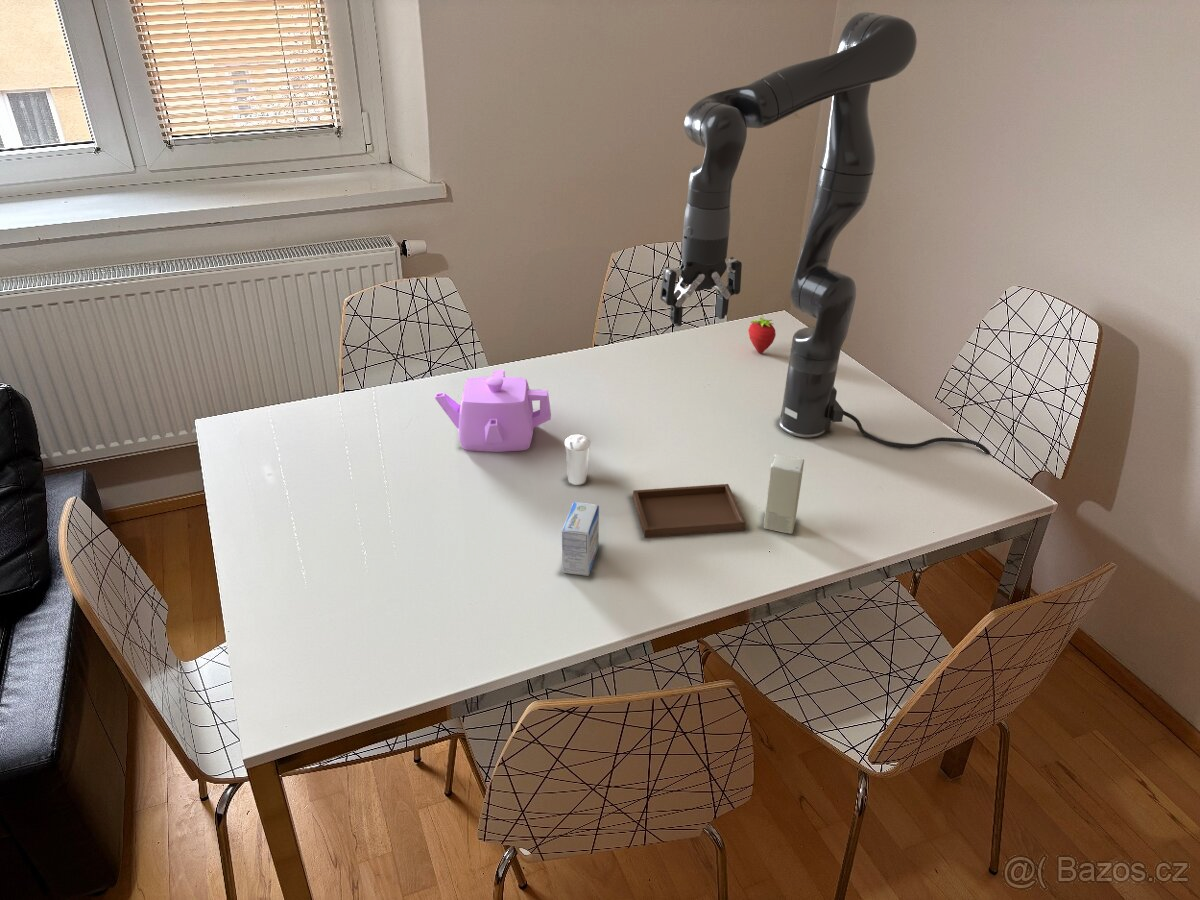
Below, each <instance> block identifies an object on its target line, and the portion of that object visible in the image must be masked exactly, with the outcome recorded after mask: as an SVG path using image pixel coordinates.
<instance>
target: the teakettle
mask: <svg viewBox="0 0 1200 900" xmlns="http://www.w3.org/2000/svg"><path fill="white" fill-rule="evenodd" d="M434 399H435V401H436V403H438V405H439V406H440V407H441V409H442V410H443V411H444V413H445V414H446V415H447V416H448V417H447V418H449V419H450V421H451V422H452V424H453V425H454V426H455V428H456V429H458V440H459V443H460V446H461V448H462V449H463V450H465V451H470V452H471V451H472V452H487V453H492V452H493V453H494V452H495V453H503V452H505V453H506V452H519V451H526V450H529V449H530V446H531V444H532V440H533V435H534V434H533V433H534V429H535V428H536V427H538V426H540V425H543V424H544V423H546V422H549V421H550V420H551V419H552V409H551V404H550V395H549V390H548V389H530V386H529V383H528V380H527V378H524V377H518V376H506V372H505V369H493V371H492V375H491V376H474V377H468V378H466V381H465V383H464V387H463V391H462V396H461V402H460V404H459V403H458V402H457V401H455V400H454V399H453V398H452V397H450V396H449V395H447V393H446V392H445V391H444V392H437V393H435V395H434ZM533 401H539V409H538V410H535V411H534V405H533Z"/></svg>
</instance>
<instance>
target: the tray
mask: <svg viewBox="0 0 1200 900" xmlns="http://www.w3.org/2000/svg"><path fill="white" fill-rule="evenodd" d="M632 502H633V505H634V508H635V511H636V515H637V518H638V522H639V525H640V528H641V531H642V534H643V538H644V539H647V538H661V537H672V536H673V537H674V536H686V535H687V536H688V535H700V534H713V533H725V532H740V531H745V530H746V523H747V522H746V520H745V517H744V515H743V513H742V510H741V509H740V506H739V505H738V503H737V500H736V498H735V495H734V493H733V491H732V489H731V487H730V485H729V484H728V483H719V484H707V485H706V484H705V485H692V486H678V487H663V488H649V489H647V488H646V489H636V490H635V489H634V490H632Z"/></svg>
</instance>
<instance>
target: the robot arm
mask: <svg viewBox="0 0 1200 900" xmlns="http://www.w3.org/2000/svg"><path fill="white" fill-rule="evenodd" d="M917 40H918V39H917V33H916V29H915V28H914V26H913V25H912V23H910V22H909V21H908V20H906V19H904V18H902V17H899V16H895V15H889V14H885V13H878V12H871V11H861V12H858V13H856V14H854V15H853V16H851V17H850V18H849V20H848V21H847V22H846V24H845V25H844V27H843V29H842V31H841V34H840V36H839V40H838V44H837V48H836V53H833V54H830V55H826V56H822V57H818V58H814V59H809V60H804V61H801V62H796V63H793V64H790V65H787V66H784V67H781V68H778V69H776V70H774V71H772V72H770V73H767V74H766V75H764V76H762V77H759V78H757V79H755V80H754V81H752V82H750V83H748V84H745V85H742V86H736V87H733V88H729V89H724V90H722V91H718V92H714V93H711V94H708V95H706V96H704V97H701V98H700V99H698V100H696V102H695V103H693V104H692V105H691V107H690V108H689V109H688V111H686V115H685V117H684V120H683V129H684V133H685V135H686V136H687V138H688V139H689V140H690V141H691V142H692V143H694V144H695V145H697V146H699V147H702V148H704V149H705V151H704V157H703V160H702V162H701V163H698V164H696V165H695V164H694V166H693V167H692V168H691V169H690V171H689V175H688V183H687V197H686V206H685V209H684V210H685V211H684V215H683V228H682V229H683V230H682V240H681V243H682V244H681V263H680V265H679V267H674V268H671V267H669V266H665V267H664V268H663V271H662V280H661V287H660V296H659V298H660V300H661V301H662V302H664V303H665V304H666V305H667V306H670V310H669V320H670V322H671V323H672V324H673V325H674V326H675V327H677V328H678V327H682V325H683V310H684V307H683V304H684V303H685V302H686V300H687V299H688V298H690V297H691V296H692V295H693V294H694V292H701V291H703V290H713V288H714V290H715V291H716V292H717V294H718V295H716V301H715V311H714V315H715V317H716V318H717V319H719V320H725V318H726V316H727V315H728V312H729V304H730V303H729V301H730V299H731V298H732V296H733V295H739V294H740V293H741V287H742V286H741V284H742V270H743V269H742V268H743V263H742V262H741V261H740V260H738V259H737V258H735V257H733V256H730V257H729V259H728V260H726V259H727V258H728V257H727V256H728V249H729V239H730V238H729V237H730V230H731V229H730V228H731V217H732V215H731V214H732V213H731V204H732V203H731V202H732V193H733V183H734V182H733V181H734V178H735V175H736V172H737V170H738V168H739V164H740V162H741V158H742V155H743V153H744V149H745V145H746V144H747V143H746V142H747V138H748V137H747V136H748V129H764V128H767V127H769V126H771V125H774V124H775V123H777V122H779V121H781V120H783V119H785V118H787V117H789V116H791V115H793V114H795V113H797V112H799V111H802V110H804V109H805V108H808V107H810V106H812V105H814V104H818V103H819V102H822V101H824V100H826V99H829V98H831V104H830V110H829V116H828V121H827V128H826V132H825V133H826V134H825V139H824V144H823V149H822V150H823V151H822V154H821V157H820V162H819V167H818V172H817V177H816V181H815V187H814V193H813V194H814V195H813V200H812V205H811V210H810V214H809V218H808V219H809V220H808V223H807V228H806V232H805V236H804V241H803V242H802V243H803V244H802V246H801V250H800V253H799V257H798V260H797V263H796V267H795V269H794V274H793V276H792V281H791V284H790V285H791V286H790V297H789V298H790V302H791V304H792V306H793V307H794V308H795V309H796V310H798V311H800V312H802V313H804V314H806V315H808V316H810V317H812V318H814V319H816V321H815V326H809V327H808V326H807V327H804V328H801V329H798V330H797V331H795V332H794V334H793V337H792V338H791V339H792V340H791V346H790V353H789V360H788V366H787V372H786V378H785V379H786V380H785V386H784V391H783V399H782V405H781V411H780V418H779V421H778V425H779V427H780V428H781V430H783V431H784V432H785V433H787V434H788V435H791V436H794V437H798V438H805V439H806V438H807V439H808V438H809V439H810V438H812V439H813V438H817V437H821V436H822V435H824V434H825V433H830V430H831V426H832V423H841V422H843V419H844V416H845V417H846V418H849V419H850V420H852V421H853V422H854V423H855V424H856V426H857V429H858V431H859V432H860V433H861V434H862V435H863V436H865V437H866V438H868V439H870V440H873V441H874V442H877V443H880V444H882V445H885V446H890V447H894V448H902V449H903V448H904V449H916V448H921V447H925V446H927V445H931V444H934V443H938V442H946V443H947V442H949V443H964V444H969V445H973V446H976V447H977V448H978V449H981V450H982V451H983V452H984V454H986V455H991V454H992V453H991V451H990V450H989V449H988V448H987V447H986V446H985V445H984V444H983V443H981V442H979V441H976V440H973V439H968V438H961V437H946V436H945V437H943V436H942V437H934V438H930V439H927V440H924V441H921V442H917V443H901V442H893V441H888V440H884V439H881V438H878V437H876V436H874V435H872V434H870V433H869V432H867V431H866V430H865V429H864V428H863V426H862V423H861V421H860V419H858V418H857V417H856V416H854V415H853V414H851V413H849V412H848V411H845V410H844V409H843V407H842V406H841V405H840V403H839V402H838V401H837V400H836V399H837V394H838V390H837V389H836V387H835V381H836V377H837V370H838V367H839V366H838V365H839V360H840V354H841V351H842V346H843V345H844V343H845V341H846V338H847V335H848V331H849V328H850V323H851V319H852V316H853V311H854V308H855V303H856V299H857V285H856V281H855V280H854V279H853V278H852V276H849V275H847V274H845V273H842V272H840V271H837V270H835V269H833V268H830V267H829V262H830V258H831V254H832V250H833V247H834V244H835V242H836V239H837V238H838V236H839V235H840V234H841V232H842V231H843V230H845V228H846V227H847V226H848V225H849V223H851V222H852V220H853V219H854V218H855V217H856V216H857V215H858V214H859V213H860V212H861V210H862V209H863V207H864V206H865V205H866V202H867V200H868V197H869V193H870V190H871V185H872V181H873V176H874V173H875V168H876V151H875V150H876V148H875V142H874V137H873V132H872V128H871V122H870V116H869V100H870V93H871V92H870V91H871V87H872V84H874V83H879V82H881V81H885V80H888V79H891V78H894V77H896V76H898V75H899V74H901V73H902V72H903V71H905V69H906V68H907V67H908V66H909V65H910V64H911V62H912V60H913V58H914V56H915V54H916V49H917V45H918V41H917ZM725 272H727V282H726V284H725V283H724V281H723V279H722V277H723V275H724V274H725ZM679 277H681V278H680V280H679ZM676 283H677V284H676ZM686 286H687V287H686ZM685 287H686V288H685Z"/></svg>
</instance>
